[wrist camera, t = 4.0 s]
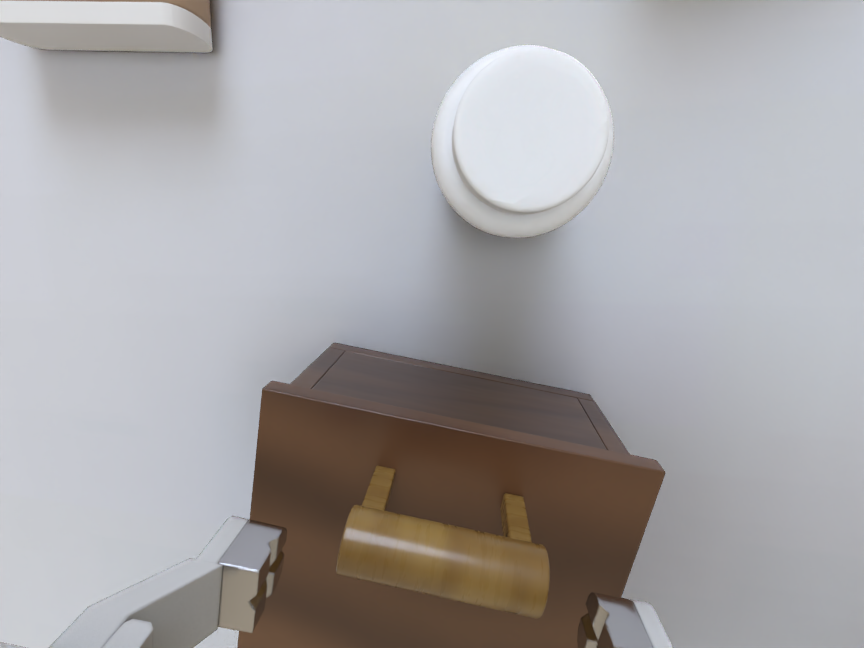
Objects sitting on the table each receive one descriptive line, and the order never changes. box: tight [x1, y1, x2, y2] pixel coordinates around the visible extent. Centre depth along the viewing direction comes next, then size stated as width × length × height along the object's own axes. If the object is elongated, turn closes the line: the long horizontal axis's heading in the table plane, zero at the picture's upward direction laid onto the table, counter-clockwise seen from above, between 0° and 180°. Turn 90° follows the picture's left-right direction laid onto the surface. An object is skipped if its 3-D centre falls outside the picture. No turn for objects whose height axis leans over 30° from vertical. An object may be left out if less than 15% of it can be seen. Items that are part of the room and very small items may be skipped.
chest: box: [290, 343, 630, 455], centre depth 22 cm, size 18×14×8 cm
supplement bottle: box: [431, 45, 614, 238], centre depth 16 cm, size 6×6×10 cm
